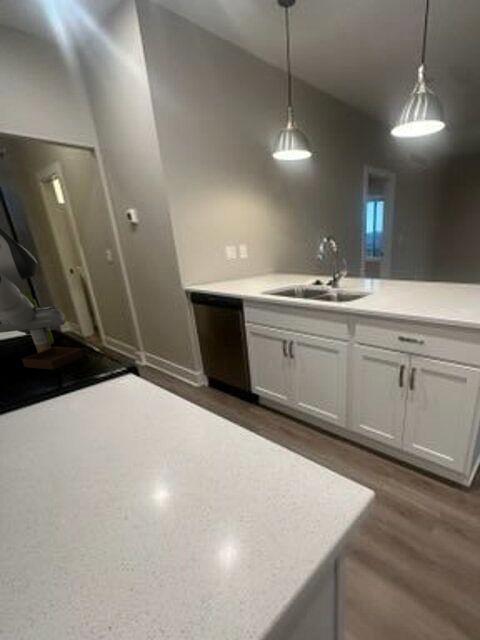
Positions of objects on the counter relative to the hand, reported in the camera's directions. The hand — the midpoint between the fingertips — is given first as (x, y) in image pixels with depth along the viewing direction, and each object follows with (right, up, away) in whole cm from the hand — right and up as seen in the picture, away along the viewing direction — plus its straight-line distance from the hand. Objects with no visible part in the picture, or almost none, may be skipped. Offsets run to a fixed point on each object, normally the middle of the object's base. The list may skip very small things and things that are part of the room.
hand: (38, 331), depth 119 cm
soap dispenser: (-5, -4, +10) cm, 13 cm away
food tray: (+11, -10, -8) cm, 17 cm away
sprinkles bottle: (+1, -7, +2) cm, 7 cm away
